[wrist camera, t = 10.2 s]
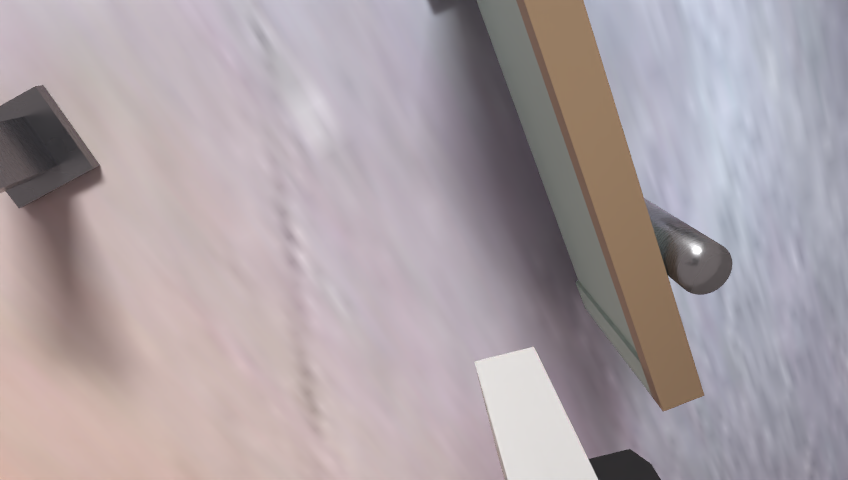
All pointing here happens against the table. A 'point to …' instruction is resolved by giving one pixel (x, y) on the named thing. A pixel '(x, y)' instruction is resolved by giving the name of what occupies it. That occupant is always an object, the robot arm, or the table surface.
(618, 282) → the gate
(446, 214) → the table surface
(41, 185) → the pair of grey posts
